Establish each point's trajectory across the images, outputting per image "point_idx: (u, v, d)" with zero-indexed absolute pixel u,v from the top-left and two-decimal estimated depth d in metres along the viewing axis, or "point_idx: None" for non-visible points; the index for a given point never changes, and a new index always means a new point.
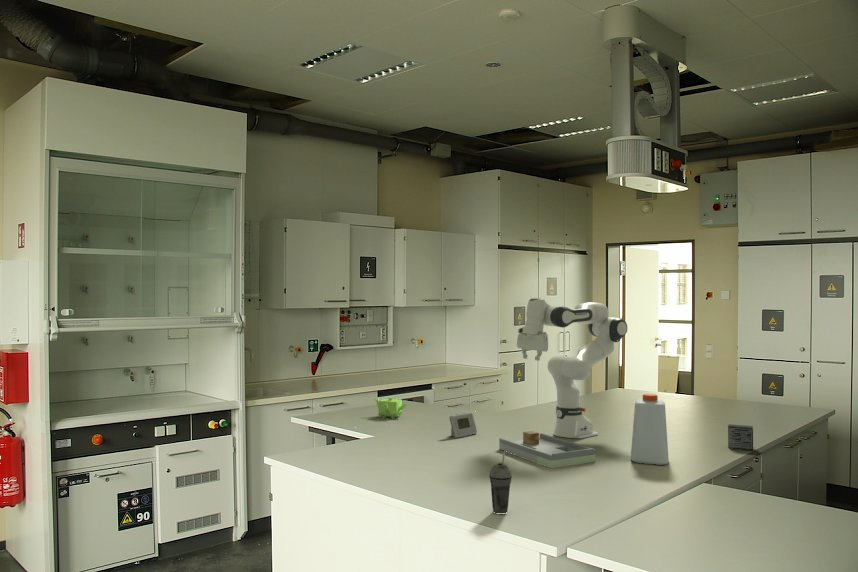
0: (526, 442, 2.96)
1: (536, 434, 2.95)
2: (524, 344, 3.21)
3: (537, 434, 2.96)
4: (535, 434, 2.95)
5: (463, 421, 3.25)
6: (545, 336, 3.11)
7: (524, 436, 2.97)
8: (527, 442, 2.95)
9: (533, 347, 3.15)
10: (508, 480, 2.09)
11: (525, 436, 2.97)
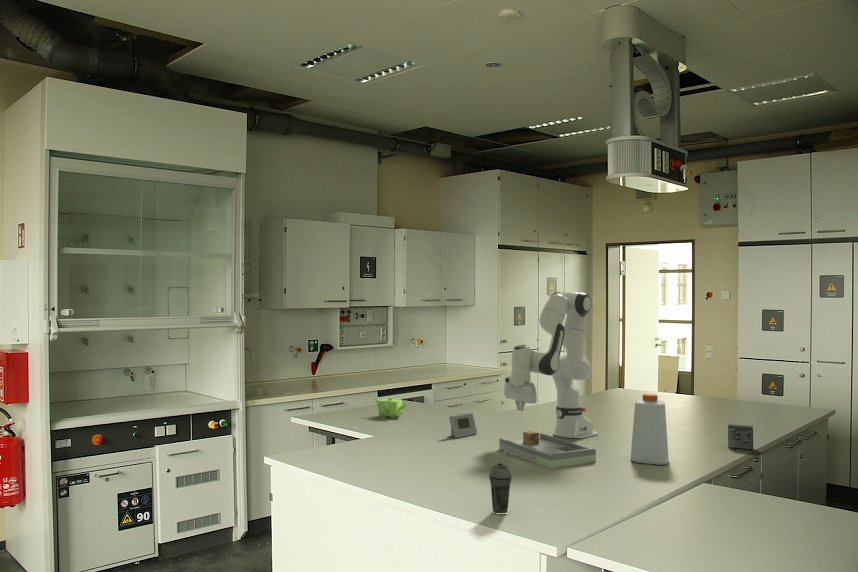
0: (526, 442, 2.96)
1: (536, 434, 2.95)
2: (512, 395, 3.06)
3: (537, 434, 2.96)
4: (535, 434, 2.95)
5: (463, 421, 3.25)
6: (533, 387, 2.96)
7: (524, 436, 2.97)
8: (527, 442, 2.95)
9: (521, 399, 3.00)
10: (508, 480, 2.09)
11: (525, 436, 2.97)
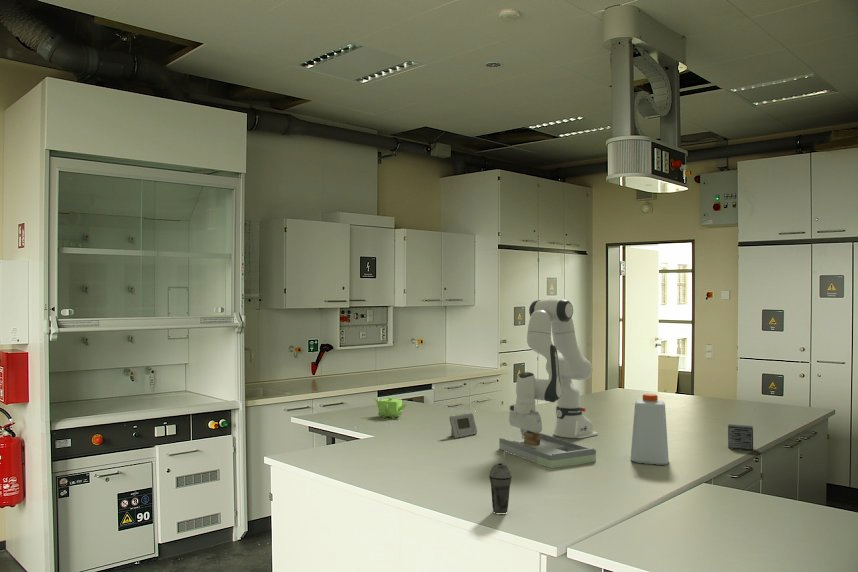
0: (527, 442, 2.95)
1: (537, 434, 2.94)
2: (517, 423, 3.03)
3: (538, 434, 2.95)
4: (536, 434, 2.94)
5: (463, 421, 3.25)
6: (538, 416, 2.92)
7: (525, 436, 2.96)
8: (528, 442, 2.94)
9: (527, 428, 2.96)
10: (508, 480, 2.09)
11: (526, 436, 2.96)
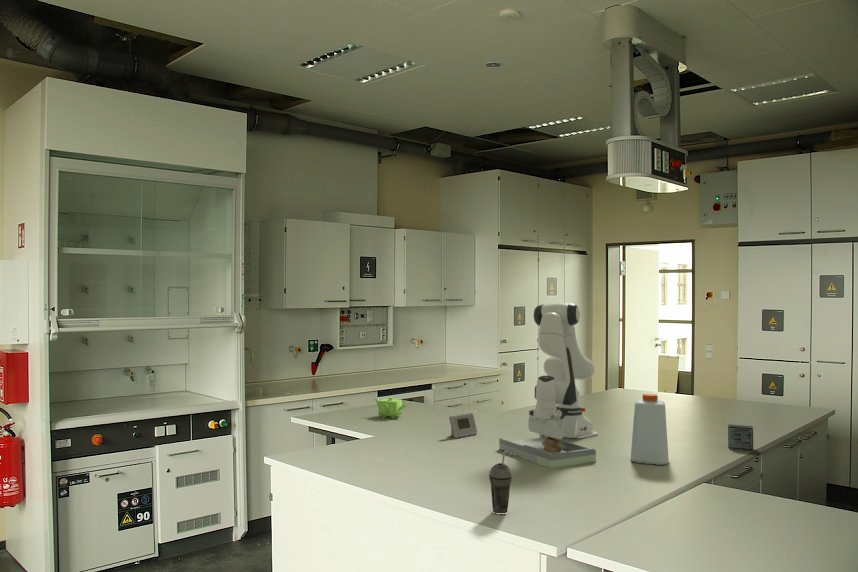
0: (548, 449, 2.82)
1: (558, 441, 2.82)
2: (537, 429, 2.90)
3: (559, 441, 2.82)
4: (557, 441, 2.81)
5: (463, 421, 3.25)
6: (559, 422, 2.79)
7: (546, 443, 2.83)
8: (549, 449, 2.81)
9: (547, 434, 2.84)
10: (508, 480, 2.09)
11: (547, 443, 2.83)
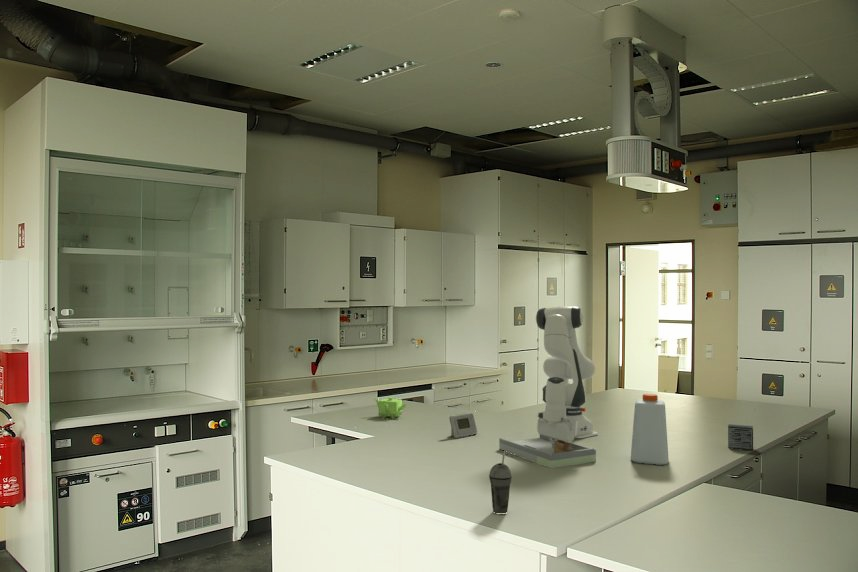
0: (557, 452, 2.77)
1: (568, 444, 2.76)
2: (546, 431, 2.84)
3: (569, 444, 2.76)
4: (567, 444, 2.76)
5: (463, 421, 3.25)
6: (569, 425, 2.74)
7: (555, 446, 2.78)
8: (559, 452, 2.76)
9: (557, 437, 2.78)
10: (508, 480, 2.09)
11: (556, 446, 2.77)
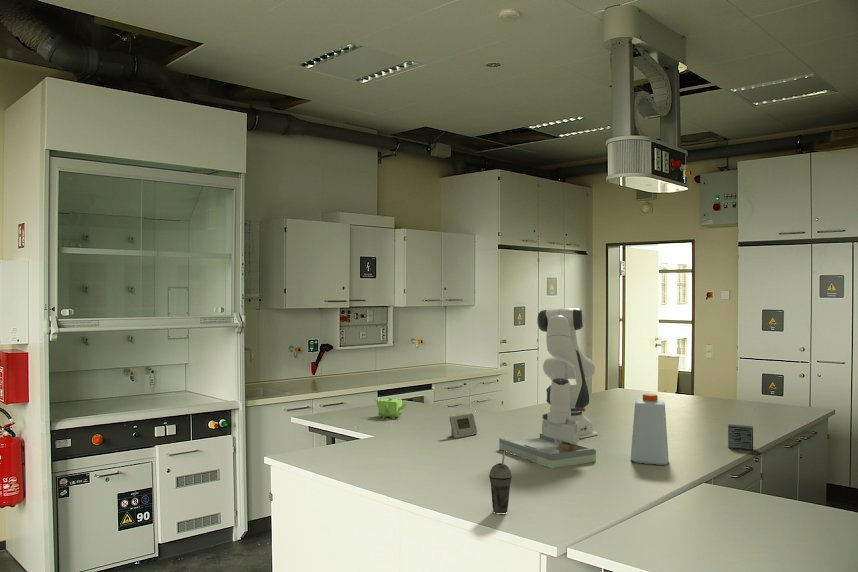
0: None
1: (573, 446, 2.74)
2: (551, 433, 2.82)
3: (574, 446, 2.74)
4: (572, 446, 2.73)
5: (463, 421, 3.25)
6: (575, 426, 2.71)
7: (560, 447, 2.75)
8: None
9: (562, 438, 2.76)
10: (508, 480, 2.09)
11: (561, 447, 2.75)
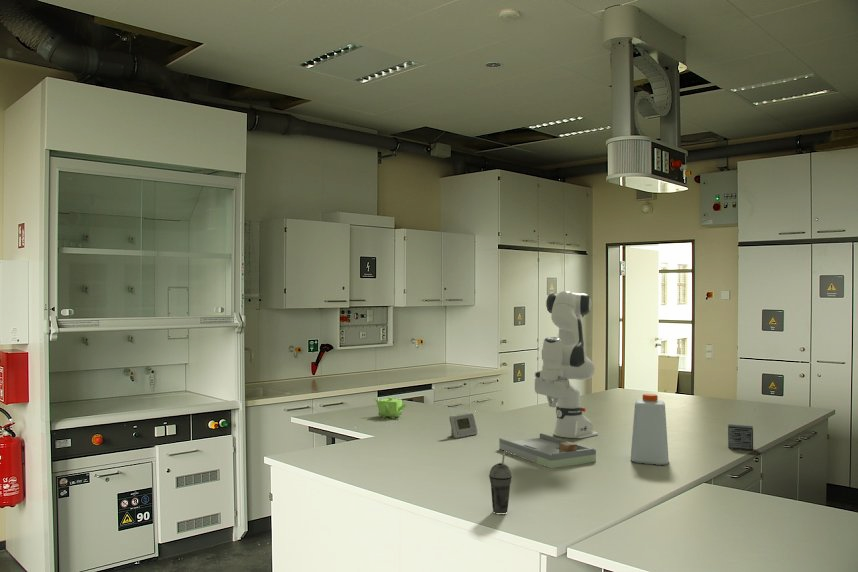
0: None
1: (573, 446, 2.74)
2: (544, 390, 2.89)
3: (574, 446, 2.74)
4: (572, 446, 2.73)
5: (463, 421, 3.25)
6: (566, 382, 2.78)
7: (560, 448, 2.75)
8: None
9: (554, 395, 2.83)
10: (508, 480, 2.09)
11: (561, 448, 2.75)
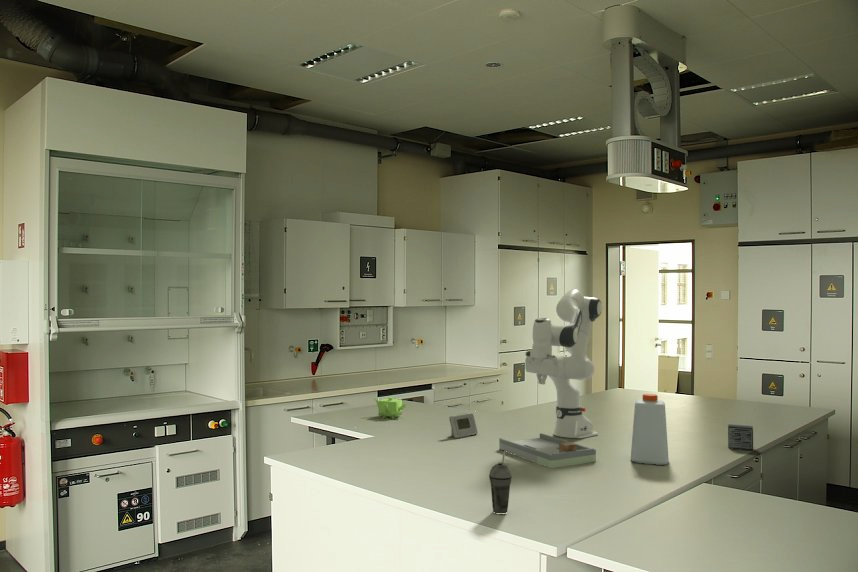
0: None
1: (573, 446, 2.74)
2: (533, 368, 3.04)
3: (574, 446, 2.74)
4: (572, 446, 2.73)
5: (463, 421, 3.24)
6: (555, 360, 2.94)
7: (560, 448, 2.75)
8: None
9: (543, 372, 2.98)
10: (508, 480, 2.09)
11: (561, 448, 2.75)
